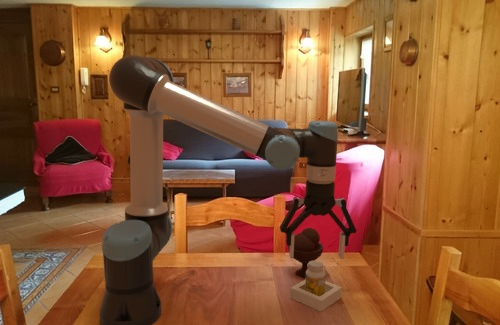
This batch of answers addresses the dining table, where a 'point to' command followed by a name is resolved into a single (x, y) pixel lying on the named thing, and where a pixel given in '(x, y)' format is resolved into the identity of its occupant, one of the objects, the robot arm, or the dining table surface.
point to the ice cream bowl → (306, 249)
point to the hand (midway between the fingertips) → (316, 256)
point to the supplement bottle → (315, 278)
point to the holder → (313, 300)
